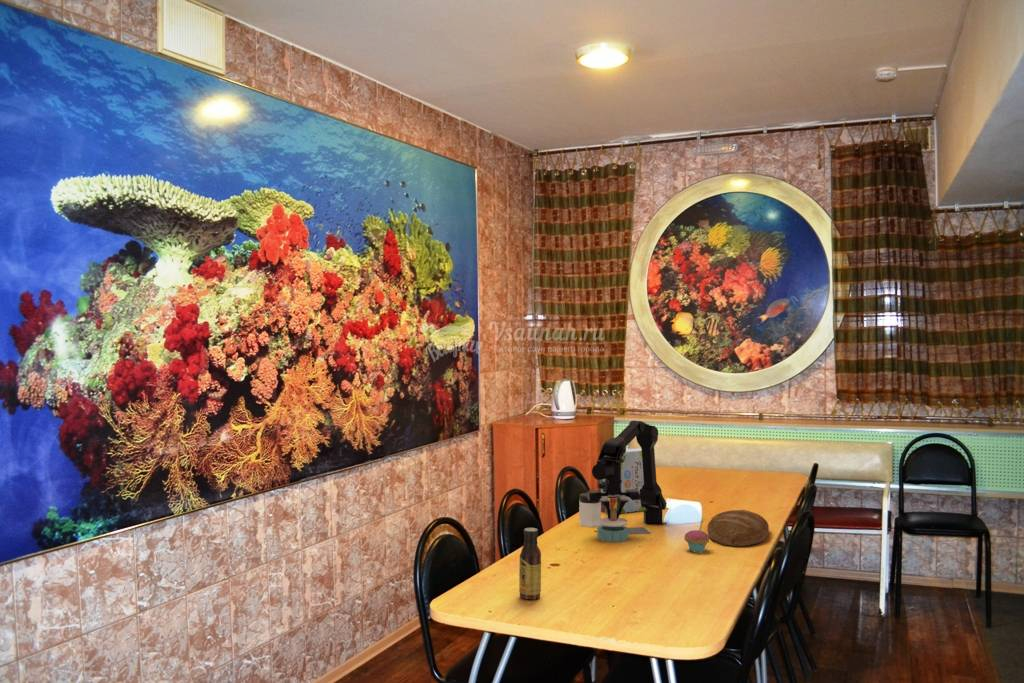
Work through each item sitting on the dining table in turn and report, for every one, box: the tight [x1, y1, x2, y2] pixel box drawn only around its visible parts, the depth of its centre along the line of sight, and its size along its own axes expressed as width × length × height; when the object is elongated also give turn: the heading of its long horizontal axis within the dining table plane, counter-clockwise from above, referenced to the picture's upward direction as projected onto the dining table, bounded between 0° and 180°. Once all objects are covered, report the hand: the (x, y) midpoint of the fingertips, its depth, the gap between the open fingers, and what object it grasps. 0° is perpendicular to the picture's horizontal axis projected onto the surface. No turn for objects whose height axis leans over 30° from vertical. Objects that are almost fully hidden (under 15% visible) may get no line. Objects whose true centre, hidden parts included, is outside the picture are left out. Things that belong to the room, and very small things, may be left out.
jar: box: [578, 492, 602, 528], centre depth 333 cm, size 9×8×12 cm
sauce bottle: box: [518, 527, 542, 600], centre depth 245 cm, size 6×6×20 cm
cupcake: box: [683, 517, 711, 553], centre depth 296 cm, size 9×8×12 cm
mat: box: [628, 526, 652, 535], centre depth 323 cm, size 10×10×1 cm
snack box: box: [600, 447, 645, 514], centre depth 359 cm, size 22×9×26 cm, turn 115°
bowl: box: [596, 525, 630, 543], centre depth 312 cm, size 11×11×4 cm
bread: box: [707, 509, 770, 547], centre depth 319 cm, size 22×37×8 cm, turn 159°
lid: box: [599, 508, 628, 527], centre depth 312 cm, size 10×10×5 cm
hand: (613, 518), depth 312 cm, fingers closed on lid, 3 cm apart
